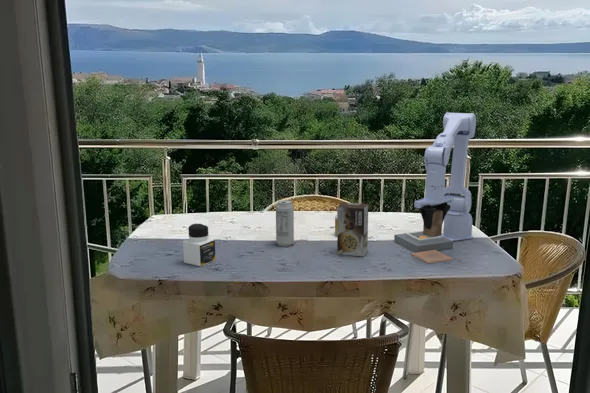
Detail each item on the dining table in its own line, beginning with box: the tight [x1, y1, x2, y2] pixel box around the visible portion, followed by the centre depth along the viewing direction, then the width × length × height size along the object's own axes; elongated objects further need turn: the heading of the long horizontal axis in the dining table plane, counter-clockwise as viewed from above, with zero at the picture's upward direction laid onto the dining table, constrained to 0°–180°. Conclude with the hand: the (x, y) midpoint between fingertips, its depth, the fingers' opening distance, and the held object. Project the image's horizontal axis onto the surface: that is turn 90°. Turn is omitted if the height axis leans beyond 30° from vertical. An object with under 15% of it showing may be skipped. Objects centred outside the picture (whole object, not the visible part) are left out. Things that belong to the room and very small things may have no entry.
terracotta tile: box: [411, 250, 453, 264], centre depth 181 cm, size 9×9×1 cm
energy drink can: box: [275, 199, 295, 248], centre depth 194 cm, size 6×6×15 cm
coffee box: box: [336, 202, 369, 257], centre depth 184 cm, size 9×6×16 cm
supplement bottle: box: [334, 214, 337, 237], centre depth 205 cm, size 5×5×10 cm
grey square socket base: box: [393, 230, 454, 253], centre depth 194 cm, size 14×14×4 cm
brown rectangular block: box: [422, 207, 443, 237], centre depth 179 cm, size 4×4×8 cm
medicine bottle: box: [182, 222, 216, 267], centre depth 177 cm, size 7×7×12 cm
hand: (433, 227), depth 179 cm, fingers closed on brown rectangular block, 4 cm apart
